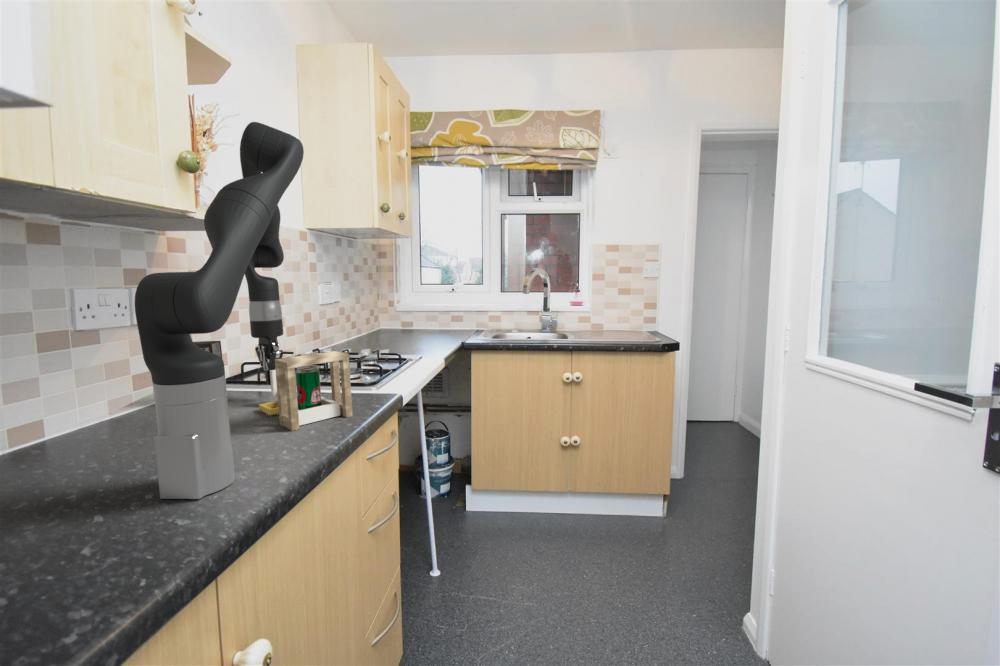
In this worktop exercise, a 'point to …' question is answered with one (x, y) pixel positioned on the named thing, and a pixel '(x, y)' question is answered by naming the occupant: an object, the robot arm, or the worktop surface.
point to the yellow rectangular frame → (269, 408)
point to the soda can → (308, 387)
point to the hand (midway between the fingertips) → (271, 383)
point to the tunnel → (288, 384)
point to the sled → (311, 414)
